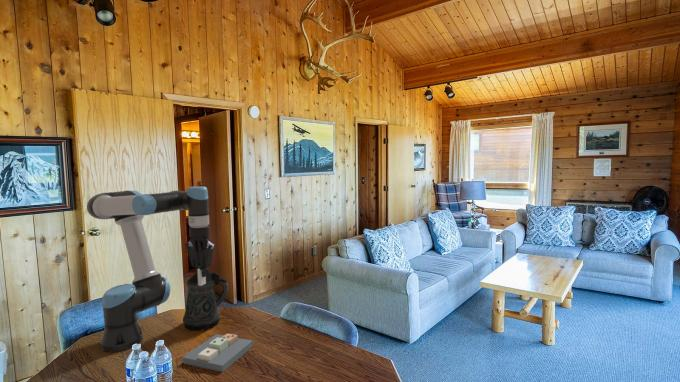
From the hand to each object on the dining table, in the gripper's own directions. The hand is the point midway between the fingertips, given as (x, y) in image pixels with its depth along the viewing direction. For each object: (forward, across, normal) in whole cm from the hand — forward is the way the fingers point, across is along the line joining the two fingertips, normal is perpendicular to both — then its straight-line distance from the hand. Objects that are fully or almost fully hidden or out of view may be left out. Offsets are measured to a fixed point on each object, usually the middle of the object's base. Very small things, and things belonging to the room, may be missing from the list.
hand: (202, 284), depth 146 cm
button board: (+26, +9, -3) cm, 28 cm away
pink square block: (+25, +9, +3) cm, 27 cm away
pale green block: (+24, +9, -3) cm, 26 cm away
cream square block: (+25, +9, -9) cm, 28 cm away
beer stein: (+27, -16, +19) cm, 36 cm away
